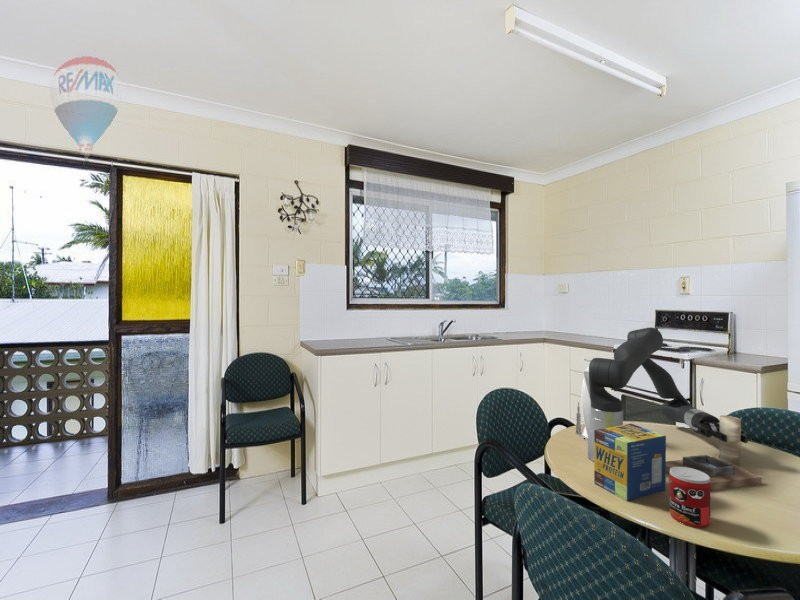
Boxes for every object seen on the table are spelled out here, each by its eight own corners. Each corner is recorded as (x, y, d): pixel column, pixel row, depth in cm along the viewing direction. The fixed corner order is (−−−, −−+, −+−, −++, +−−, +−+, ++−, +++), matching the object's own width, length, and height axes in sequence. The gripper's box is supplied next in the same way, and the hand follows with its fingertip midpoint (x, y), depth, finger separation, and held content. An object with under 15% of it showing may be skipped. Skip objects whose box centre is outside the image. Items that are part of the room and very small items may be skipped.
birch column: (732, 465, 119) (732, 421, 119) (715, 458, 124) (715, 416, 124) (745, 463, 120) (745, 420, 120) (728, 457, 125) (728, 415, 125)
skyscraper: (595, 433, 148) (595, 362, 148) (608, 441, 140) (608, 366, 140) (575, 433, 148) (574, 362, 148) (586, 441, 140) (586, 366, 140)
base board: (703, 491, 103) (703, 475, 103) (659, 468, 117) (659, 455, 117) (761, 484, 107) (761, 469, 107) (712, 462, 121) (712, 449, 121)
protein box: (593, 483, 108) (593, 429, 108) (631, 474, 113) (631, 423, 113) (627, 502, 98) (626, 442, 98) (667, 491, 104) (667, 434, 103)
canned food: (662, 514, 92) (662, 469, 92) (682, 507, 95) (682, 463, 95) (697, 532, 85) (697, 483, 85) (717, 523, 88) (717, 477, 88)
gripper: (680, 410, 137) (710, 426, 121) (724, 412, 135) (761, 428, 118) (680, 431, 137) (710, 449, 121) (724, 433, 135) (761, 452, 118)
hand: (735, 439), depth 120 cm, fingers closed on birch column, 5 cm apart
